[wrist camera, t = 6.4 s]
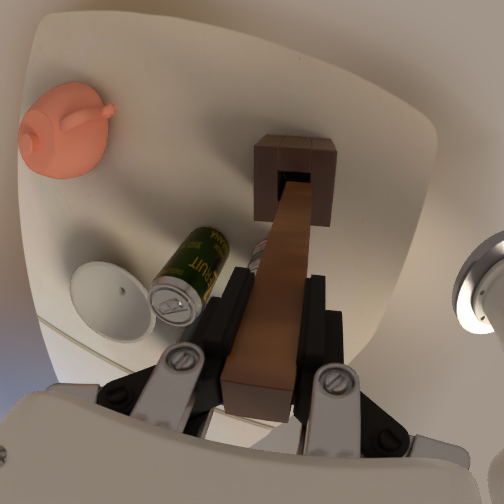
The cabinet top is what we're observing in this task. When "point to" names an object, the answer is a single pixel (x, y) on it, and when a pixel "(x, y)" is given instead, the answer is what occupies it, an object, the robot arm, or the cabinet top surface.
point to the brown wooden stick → (272, 317)
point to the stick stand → (294, 160)
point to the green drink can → (189, 277)
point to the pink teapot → (65, 131)
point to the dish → (112, 302)
